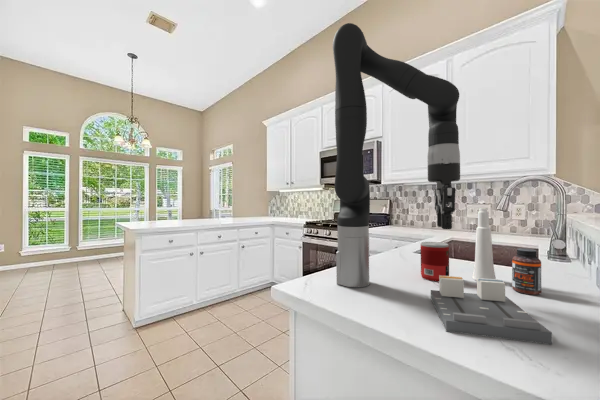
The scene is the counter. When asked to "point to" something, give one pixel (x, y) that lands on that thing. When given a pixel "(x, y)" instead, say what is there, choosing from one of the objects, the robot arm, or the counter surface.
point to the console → (488, 318)
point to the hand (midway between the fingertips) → (444, 227)
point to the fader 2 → (491, 289)
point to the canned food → (434, 260)
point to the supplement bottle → (526, 272)
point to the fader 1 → (451, 286)
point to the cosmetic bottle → (483, 248)
